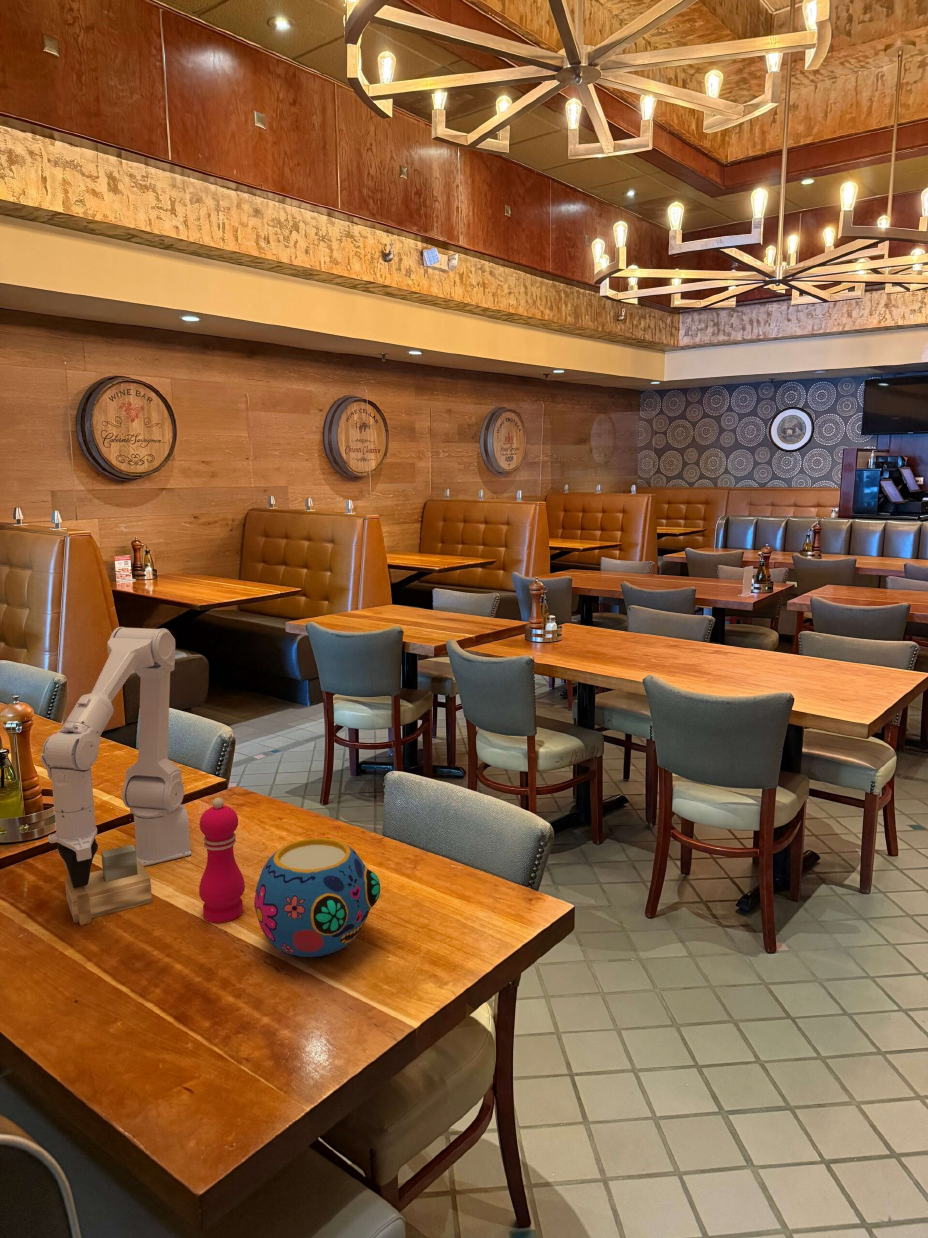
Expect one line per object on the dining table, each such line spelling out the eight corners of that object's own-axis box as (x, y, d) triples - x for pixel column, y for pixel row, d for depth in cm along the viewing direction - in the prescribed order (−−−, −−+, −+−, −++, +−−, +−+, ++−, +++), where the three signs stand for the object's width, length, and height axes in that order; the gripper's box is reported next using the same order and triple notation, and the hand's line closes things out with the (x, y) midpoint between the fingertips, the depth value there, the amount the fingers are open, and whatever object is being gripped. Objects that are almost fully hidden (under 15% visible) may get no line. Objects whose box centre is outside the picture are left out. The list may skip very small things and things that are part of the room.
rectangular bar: (76, 862, 141) (75, 852, 141) (86, 885, 133) (85, 875, 133) (63, 864, 140) (63, 855, 140) (72, 888, 132) (72, 878, 132)
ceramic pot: (321, 994, 112) (319, 893, 110) (231, 955, 122) (227, 862, 119) (395, 935, 127) (395, 845, 125) (310, 904, 136) (308, 820, 134)
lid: (140, 865, 143) (138, 837, 142) (150, 882, 136) (148, 853, 135) (65, 883, 136) (63, 854, 135) (72, 902, 130) (70, 872, 129)
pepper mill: (233, 927, 129) (227, 808, 126) (191, 922, 131) (185, 804, 127) (253, 904, 136) (248, 791, 133) (214, 900, 138) (208, 788, 134)
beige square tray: (139, 880, 144) (138, 856, 144) (154, 906, 136) (152, 881, 135) (65, 898, 138) (63, 873, 137) (75, 927, 129) (73, 901, 128)
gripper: (40, 796, 133) (47, 873, 135) (52, 827, 121) (59, 911, 123) (87, 787, 137) (92, 862, 139) (103, 817, 125) (109, 898, 127)
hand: (80, 885), depth 132 cm, fingers closed
